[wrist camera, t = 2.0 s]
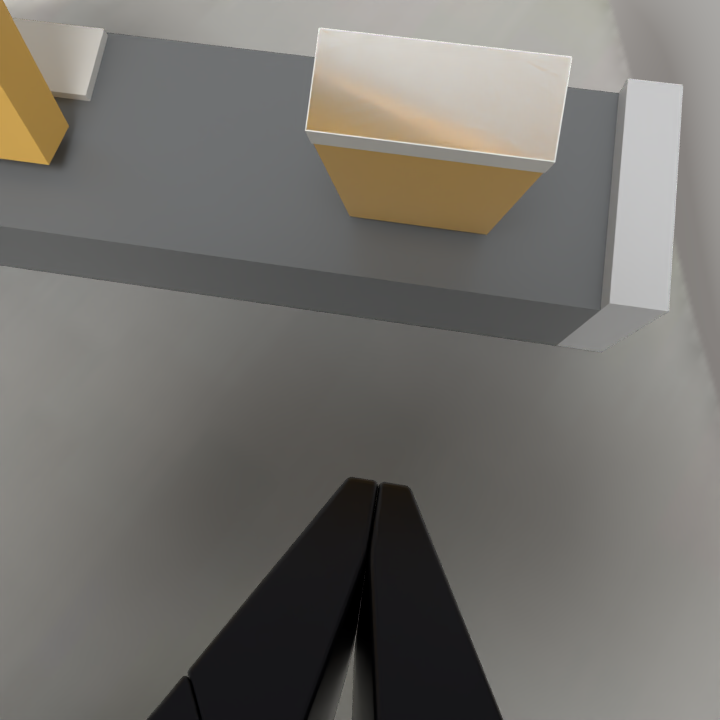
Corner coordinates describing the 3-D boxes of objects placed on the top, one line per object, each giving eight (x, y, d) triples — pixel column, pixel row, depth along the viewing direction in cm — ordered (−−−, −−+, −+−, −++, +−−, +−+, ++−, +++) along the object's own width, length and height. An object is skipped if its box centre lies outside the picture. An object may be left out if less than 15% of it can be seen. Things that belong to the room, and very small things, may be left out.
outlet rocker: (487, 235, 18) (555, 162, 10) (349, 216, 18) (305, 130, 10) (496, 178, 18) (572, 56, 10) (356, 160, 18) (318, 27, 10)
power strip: (601, 352, 22) (669, 311, 17) (-93, 251, 24) (-223, 186, 18) (616, 172, 23) (683, 84, 18) (-41, 89, 25) (-150, -13, 20)
